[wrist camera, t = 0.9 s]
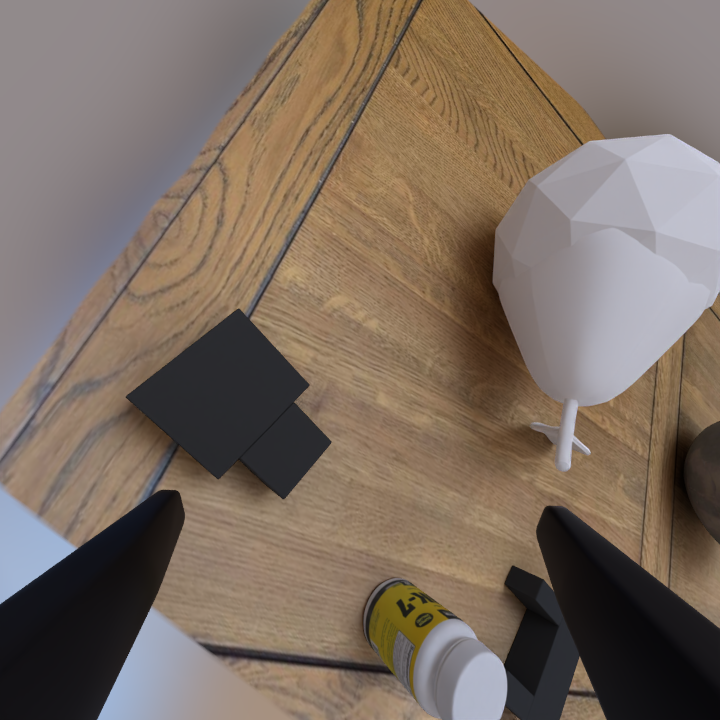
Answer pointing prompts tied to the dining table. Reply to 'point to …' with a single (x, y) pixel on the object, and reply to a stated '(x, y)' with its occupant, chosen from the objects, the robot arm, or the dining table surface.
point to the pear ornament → (607, 267)
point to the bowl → (705, 478)
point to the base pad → (539, 652)
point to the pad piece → (235, 406)
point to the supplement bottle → (434, 654)
